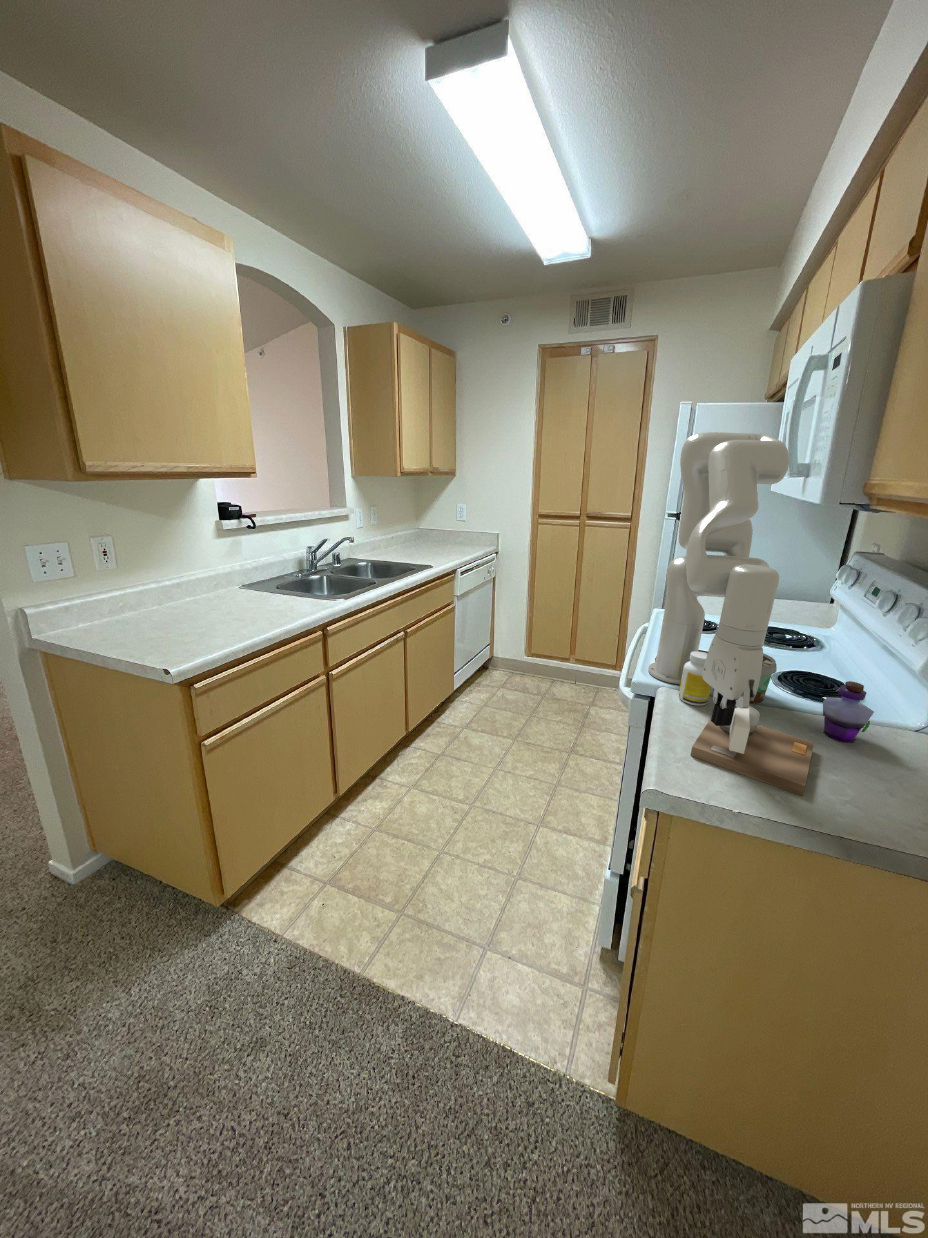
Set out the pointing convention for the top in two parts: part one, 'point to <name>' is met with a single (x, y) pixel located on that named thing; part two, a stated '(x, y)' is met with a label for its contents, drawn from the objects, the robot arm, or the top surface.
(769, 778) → the post base
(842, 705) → the potion bottle
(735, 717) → the white bar with knob
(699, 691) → the pill bottle
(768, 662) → the food container
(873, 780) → the top surface
